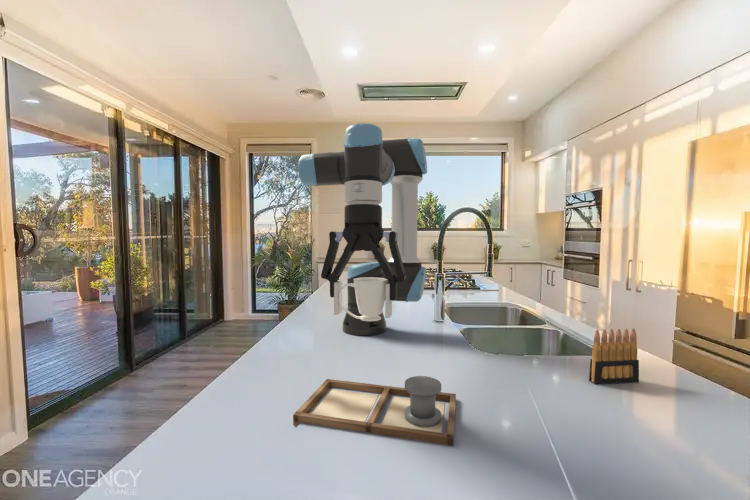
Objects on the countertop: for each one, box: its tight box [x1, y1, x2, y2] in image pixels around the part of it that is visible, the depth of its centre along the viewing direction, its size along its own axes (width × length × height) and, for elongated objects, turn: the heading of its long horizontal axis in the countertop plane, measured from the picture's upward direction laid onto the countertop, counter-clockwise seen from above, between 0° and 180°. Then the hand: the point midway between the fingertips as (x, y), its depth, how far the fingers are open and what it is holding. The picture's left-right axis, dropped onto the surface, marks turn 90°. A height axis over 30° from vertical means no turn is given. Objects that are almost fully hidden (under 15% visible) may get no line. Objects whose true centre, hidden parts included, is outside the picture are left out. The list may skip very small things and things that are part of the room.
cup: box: [339, 277, 388, 321], centre depth 69 cm, size 7×10×8 cm
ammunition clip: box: [588, 328, 640, 386], centre depth 76 cm, size 11×2×12 cm, turn 96°
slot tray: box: [292, 378, 457, 447], centre depth 62 cm, size 15×27×2 cm, turn 75°
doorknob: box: [404, 375, 442, 427], centre depth 60 cm, size 6×6×6 cm
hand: (362, 314), depth 69 cm, fingers closed on cup, 10 cm apart
